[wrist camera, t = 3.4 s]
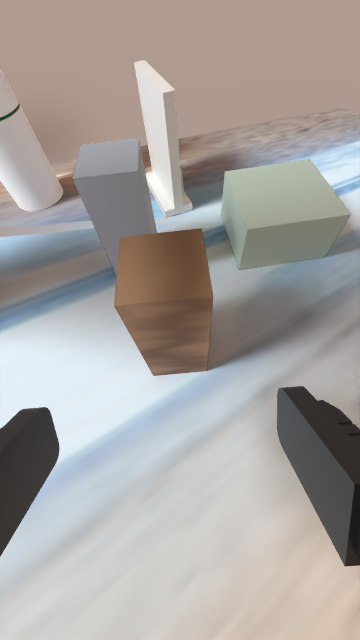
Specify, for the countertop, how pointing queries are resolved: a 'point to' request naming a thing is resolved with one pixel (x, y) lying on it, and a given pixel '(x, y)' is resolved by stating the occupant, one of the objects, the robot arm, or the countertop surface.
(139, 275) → the walnut block
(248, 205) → the sage base block
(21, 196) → the cylindrical container
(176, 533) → the countertop surface
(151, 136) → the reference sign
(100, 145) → the slate block
